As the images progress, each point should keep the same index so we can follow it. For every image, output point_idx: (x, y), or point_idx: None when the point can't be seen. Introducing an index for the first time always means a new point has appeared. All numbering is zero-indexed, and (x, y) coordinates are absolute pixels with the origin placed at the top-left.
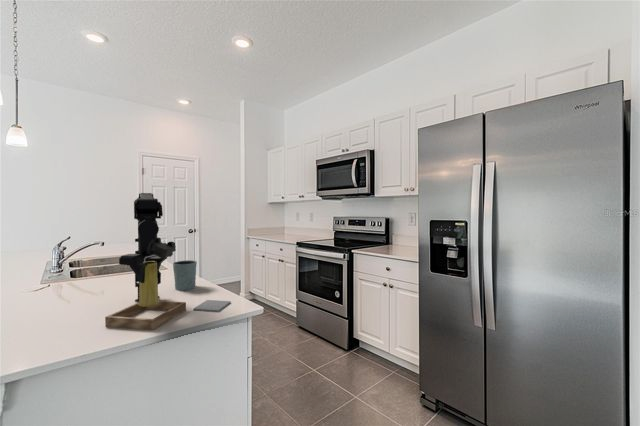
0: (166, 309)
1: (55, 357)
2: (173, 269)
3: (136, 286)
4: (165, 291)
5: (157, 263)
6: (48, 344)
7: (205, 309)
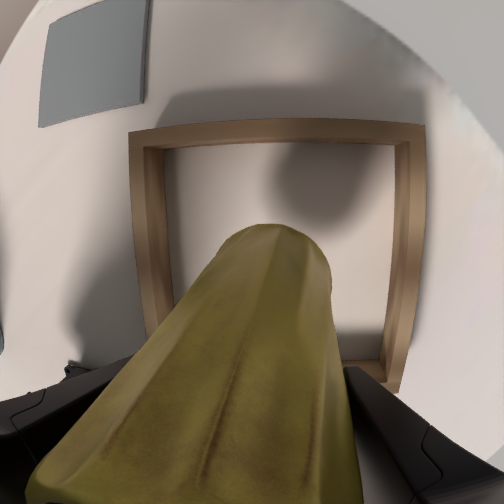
0: (166, 240)
1: None
2: None
3: None
4: (26, 374)
5: (18, 453)
6: (499, 400)
7: (142, 39)
